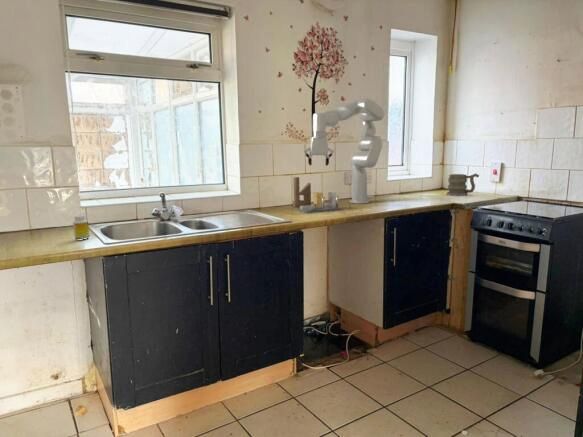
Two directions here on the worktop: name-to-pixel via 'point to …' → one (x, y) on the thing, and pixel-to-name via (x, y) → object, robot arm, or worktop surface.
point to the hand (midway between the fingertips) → (318, 165)
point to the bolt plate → (319, 209)
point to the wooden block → (301, 193)
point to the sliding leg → (318, 199)
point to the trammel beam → (331, 201)
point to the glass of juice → (80, 227)
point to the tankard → (460, 184)
